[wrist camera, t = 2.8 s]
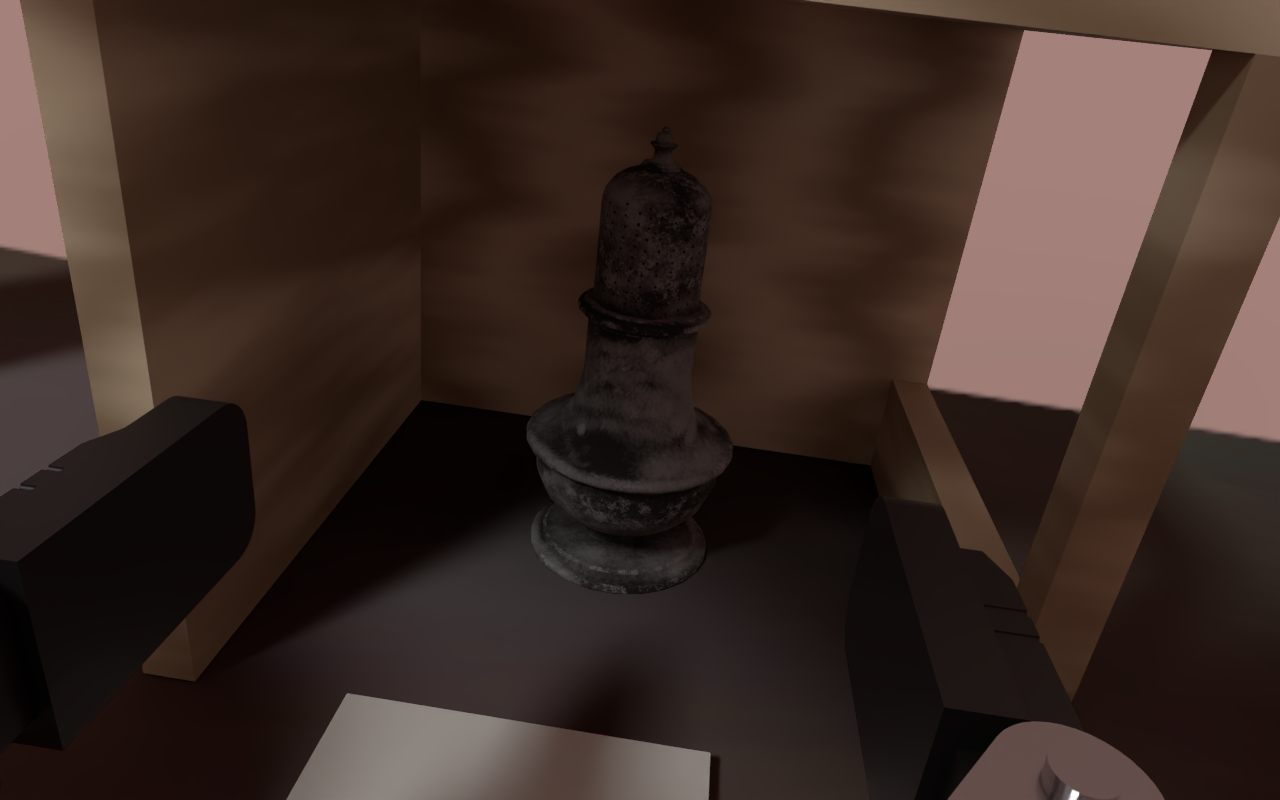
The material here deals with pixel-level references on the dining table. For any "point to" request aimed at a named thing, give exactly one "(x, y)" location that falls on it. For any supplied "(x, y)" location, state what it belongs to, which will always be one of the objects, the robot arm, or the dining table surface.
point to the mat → (486, 760)
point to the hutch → (569, 229)
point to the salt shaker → (634, 396)
